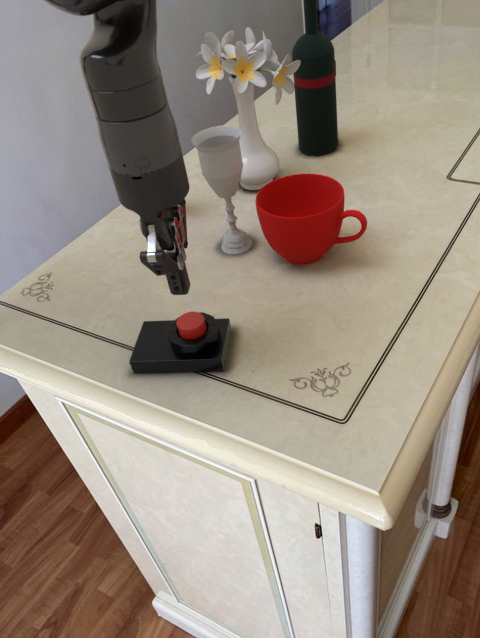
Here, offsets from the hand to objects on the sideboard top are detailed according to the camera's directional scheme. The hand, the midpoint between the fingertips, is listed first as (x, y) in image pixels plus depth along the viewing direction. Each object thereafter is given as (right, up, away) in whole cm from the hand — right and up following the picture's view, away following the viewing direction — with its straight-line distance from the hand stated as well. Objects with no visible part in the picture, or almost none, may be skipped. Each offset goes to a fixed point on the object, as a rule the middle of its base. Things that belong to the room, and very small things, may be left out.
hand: (181, 291), depth 71 cm
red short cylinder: (+1, -4, +4) cm, 6 cm away
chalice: (+5, +11, +24) cm, 27 cm away
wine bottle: (+20, +36, +47) cm, 63 cm away
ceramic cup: (+18, +8, +20) cm, 28 cm away
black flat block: (-1, -7, +7) cm, 10 cm away
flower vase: (+8, +26, +39) cm, 47 cm away
